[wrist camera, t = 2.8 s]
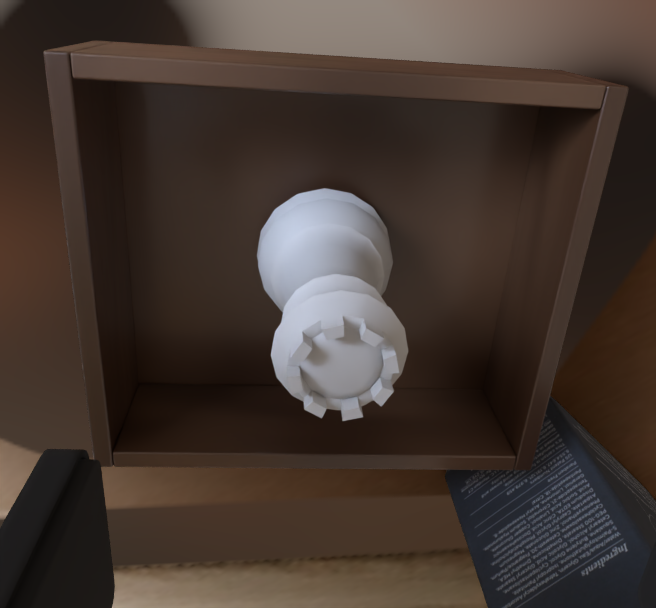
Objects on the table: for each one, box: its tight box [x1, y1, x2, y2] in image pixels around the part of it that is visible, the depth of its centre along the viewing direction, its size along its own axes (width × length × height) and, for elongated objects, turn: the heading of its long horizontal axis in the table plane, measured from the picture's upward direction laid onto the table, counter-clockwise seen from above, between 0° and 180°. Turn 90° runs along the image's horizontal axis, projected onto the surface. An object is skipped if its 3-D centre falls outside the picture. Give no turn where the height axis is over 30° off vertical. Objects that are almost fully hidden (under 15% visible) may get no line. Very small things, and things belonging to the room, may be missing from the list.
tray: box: [44, 41, 629, 470], centre depth 20 cm, size 14×12×4 cm
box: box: [445, 396, 656, 608], centre depth 22 cm, size 8×6×11 cm
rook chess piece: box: [257, 188, 408, 421], centre depth 18 cm, size 4×4×8 cm
